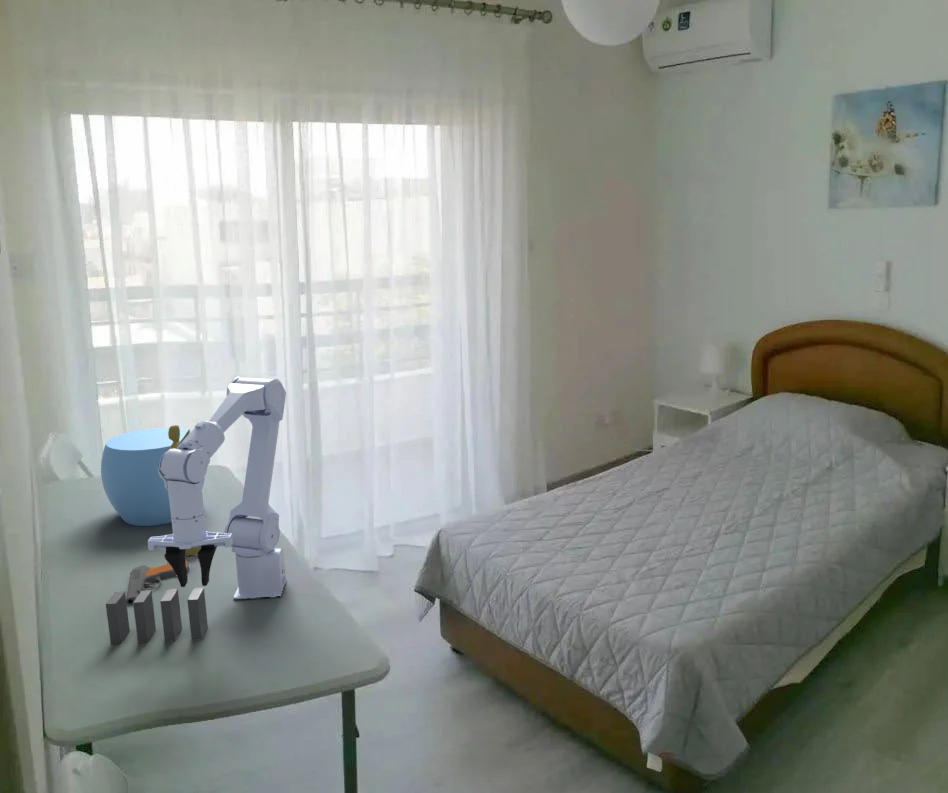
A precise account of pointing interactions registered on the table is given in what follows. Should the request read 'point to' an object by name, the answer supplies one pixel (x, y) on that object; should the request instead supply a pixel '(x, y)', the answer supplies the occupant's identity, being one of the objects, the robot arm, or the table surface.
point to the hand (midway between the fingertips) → (194, 584)
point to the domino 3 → (197, 613)
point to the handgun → (148, 578)
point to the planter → (138, 476)
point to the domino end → (117, 617)
